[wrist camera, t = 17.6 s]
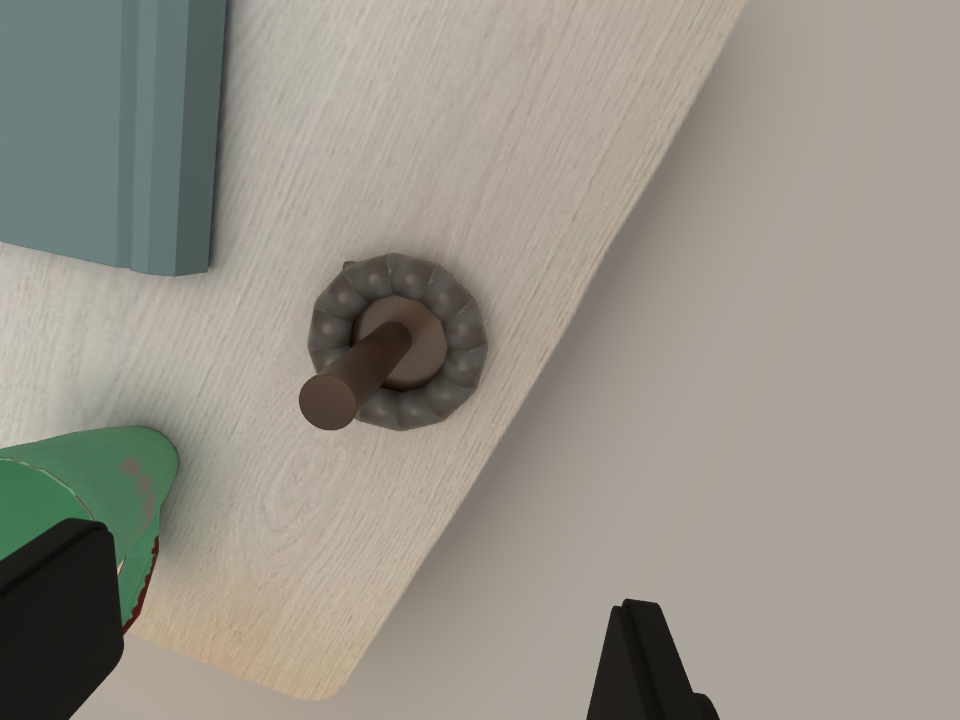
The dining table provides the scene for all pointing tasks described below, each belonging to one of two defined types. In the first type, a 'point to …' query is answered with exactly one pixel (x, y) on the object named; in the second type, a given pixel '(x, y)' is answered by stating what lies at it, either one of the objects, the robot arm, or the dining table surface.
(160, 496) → the mug
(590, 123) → the dining table surface
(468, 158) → the dining table surface
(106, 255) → the book
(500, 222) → the dining table surface
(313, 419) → the post
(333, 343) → the segmented grey ring
